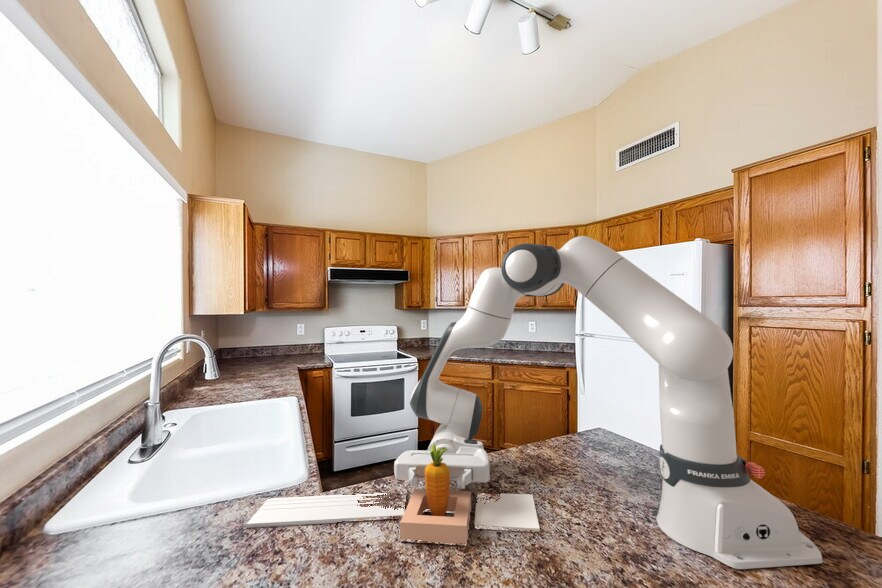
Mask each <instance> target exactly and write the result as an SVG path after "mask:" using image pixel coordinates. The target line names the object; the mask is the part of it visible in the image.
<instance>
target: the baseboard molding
mask: <svg viewBox="0 0 882 588" xmlns="http://www.w3.org/2000/svg"><path fill="white" fill-rule="evenodd" d="M407 487H408V488H409V486H408V485H406V488H407ZM405 491H406V492H407V489H406V490H405ZM373 493H374V494H360V493H355V494H356V495H342V494H328V495H326V494H325V495H308V496H306V495H305V496H292V497H291V496H290V497H273V498H272V497H270V498H267V499H266V500H265V501H264V502H263V504H262V505H261V506H260V507H259V508H258V509H257V511H256V512H255V513H254V514H253V515H252V516H251V518H250V519H249V520H248V521H247V523H245V524H246V525H245V527H246V529H248V528H249V529H250V528H267V527H284V526H285V527H286V526H288V527H289V526H303V525H307V526H308V525H318V524H319V525H322V524H324V525H325V524H338V523H337V522H342V521H347V520H354V519H361V518H373V517H374V518H376V517H387V516H403V515H404V512H405V510H406V509H405V507H404V509H403V508H401V509H400V508H398V510H397V509H395V510H394V508H393V509H392V507H391V508H390V506H389V508H387V507H386V509H385V507H384V508H383V506H382V508H381V506H380V507H379V506H370V505H369V506H370V507H369V506H368V507H361V506H359V505H360V504H373V502H366V503H358V501H357V500H361V501H362V500H371V499H378V498H366V499H363V497H362V496H377V495H383V494H384V495H385V494H386V495H387V493H379V492H373ZM407 493H408V492H407ZM360 498H361V499H360ZM389 498H390V497H389ZM405 498H406V496H405ZM379 499H380V498H379ZM381 499H382V498H381ZM405 501H406V502H407V500H406V499H405ZM375 503H379V502H374V504H375ZM357 505H358V506H357ZM404 506H405V505H404Z"/></svg>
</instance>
